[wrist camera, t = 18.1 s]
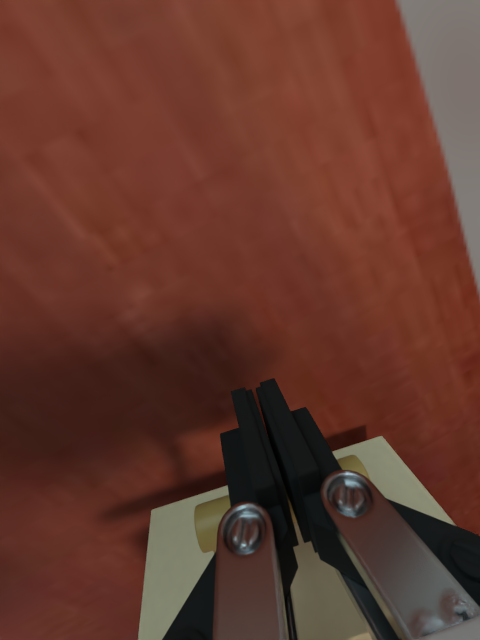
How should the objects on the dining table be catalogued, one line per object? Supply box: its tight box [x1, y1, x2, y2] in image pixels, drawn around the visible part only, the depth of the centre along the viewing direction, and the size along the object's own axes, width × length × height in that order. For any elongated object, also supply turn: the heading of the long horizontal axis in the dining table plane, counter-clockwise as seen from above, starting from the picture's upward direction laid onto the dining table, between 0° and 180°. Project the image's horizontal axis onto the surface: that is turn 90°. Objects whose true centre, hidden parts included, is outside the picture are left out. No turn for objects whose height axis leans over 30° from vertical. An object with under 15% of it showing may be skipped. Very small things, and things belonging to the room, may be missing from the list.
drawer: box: [138, 436, 456, 640], centre depth 14 cm, size 18×13×7 cm
